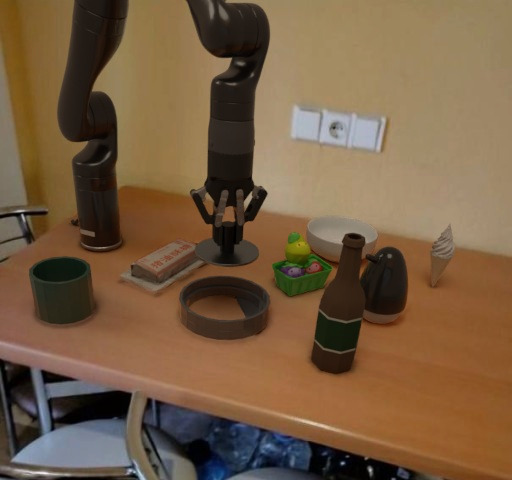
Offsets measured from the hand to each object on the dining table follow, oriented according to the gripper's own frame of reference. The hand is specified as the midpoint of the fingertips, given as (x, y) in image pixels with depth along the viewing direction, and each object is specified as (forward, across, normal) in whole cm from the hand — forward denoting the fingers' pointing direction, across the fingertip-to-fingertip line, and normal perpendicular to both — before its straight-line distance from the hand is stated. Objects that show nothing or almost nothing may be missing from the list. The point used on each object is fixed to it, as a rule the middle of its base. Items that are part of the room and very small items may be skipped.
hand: (227, 243), depth 100 cm
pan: (+16, 0, 0) cm, 16 cm away
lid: (+2, 0, 0) cm, 2 cm away
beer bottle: (+16, -15, +18) cm, 28 cm away
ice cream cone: (+16, -49, -3) cm, 52 cm away
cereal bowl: (+16, -34, -21) cm, 43 cm away
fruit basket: (+16, -19, -9) cm, 26 cm away
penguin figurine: (+16, -30, +6) cm, 34 cm away
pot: (+16, +29, -8) cm, 34 cm away
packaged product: (+16, +8, -20) cm, 27 cm away
